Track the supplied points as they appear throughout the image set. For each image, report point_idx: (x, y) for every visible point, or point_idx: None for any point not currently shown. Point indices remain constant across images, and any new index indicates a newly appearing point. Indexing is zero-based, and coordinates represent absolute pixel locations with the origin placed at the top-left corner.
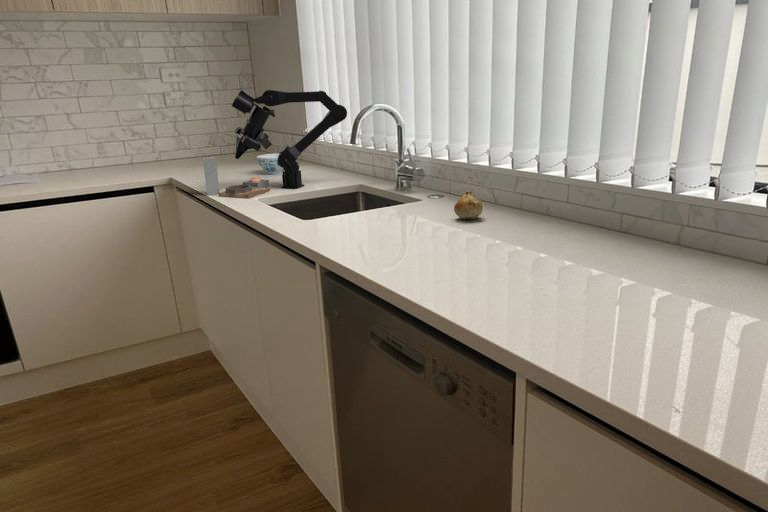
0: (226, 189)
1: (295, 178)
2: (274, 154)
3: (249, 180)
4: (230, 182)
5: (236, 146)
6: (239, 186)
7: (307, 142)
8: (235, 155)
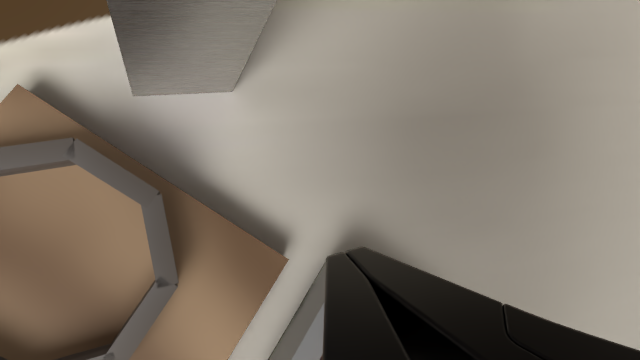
0: None
1: None
2: None
3: None
4: (571, 146)
5: (471, 352)
6: (152, 261)
7: None
8: (347, 269)
